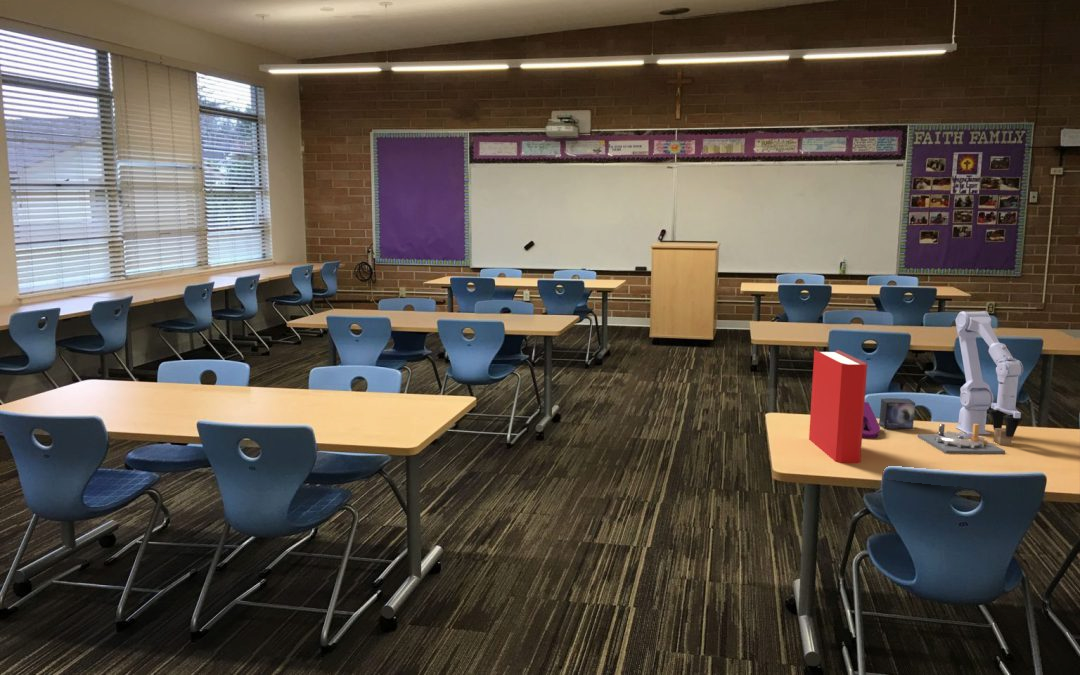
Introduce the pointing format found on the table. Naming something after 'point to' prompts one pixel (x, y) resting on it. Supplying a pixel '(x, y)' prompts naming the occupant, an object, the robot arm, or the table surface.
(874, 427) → the mounting bracket
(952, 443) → the sprocket
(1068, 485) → the table surface
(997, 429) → the link block
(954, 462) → the table surface
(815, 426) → the book
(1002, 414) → the robot arm
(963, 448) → the base plate
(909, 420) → the small box
